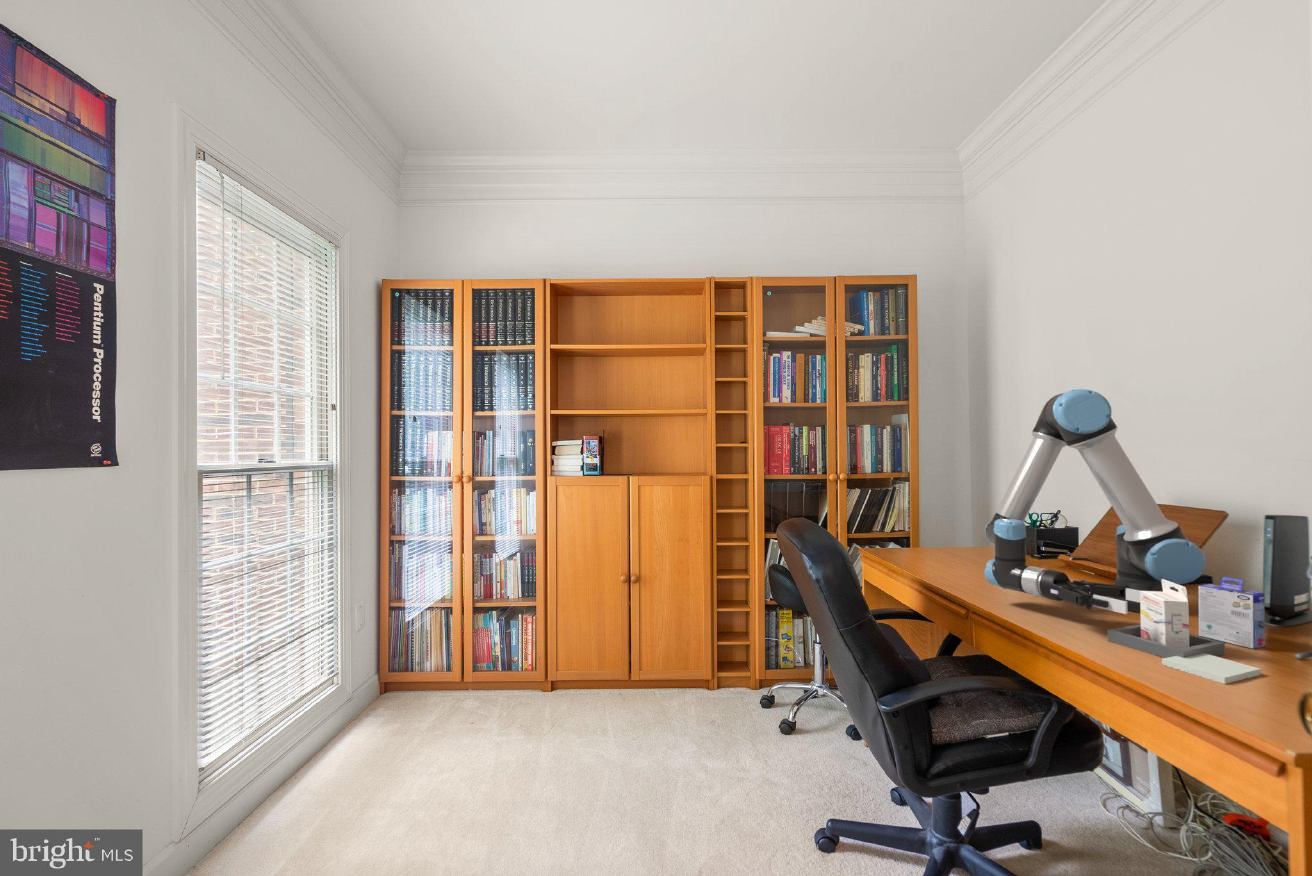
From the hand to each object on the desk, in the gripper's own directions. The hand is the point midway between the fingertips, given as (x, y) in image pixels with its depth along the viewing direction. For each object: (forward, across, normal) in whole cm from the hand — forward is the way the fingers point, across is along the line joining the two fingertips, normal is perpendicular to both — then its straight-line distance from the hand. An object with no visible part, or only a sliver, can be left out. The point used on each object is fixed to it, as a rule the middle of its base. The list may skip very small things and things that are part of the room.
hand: (1143, 604), depth 128 cm
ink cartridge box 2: (+8, -20, -9) cm, 23 cm away
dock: (+3, -1, -9) cm, 10 cm away
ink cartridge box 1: (+3, -1, -9) cm, 10 cm away
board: (+14, +6, -9) cm, 18 cm away
